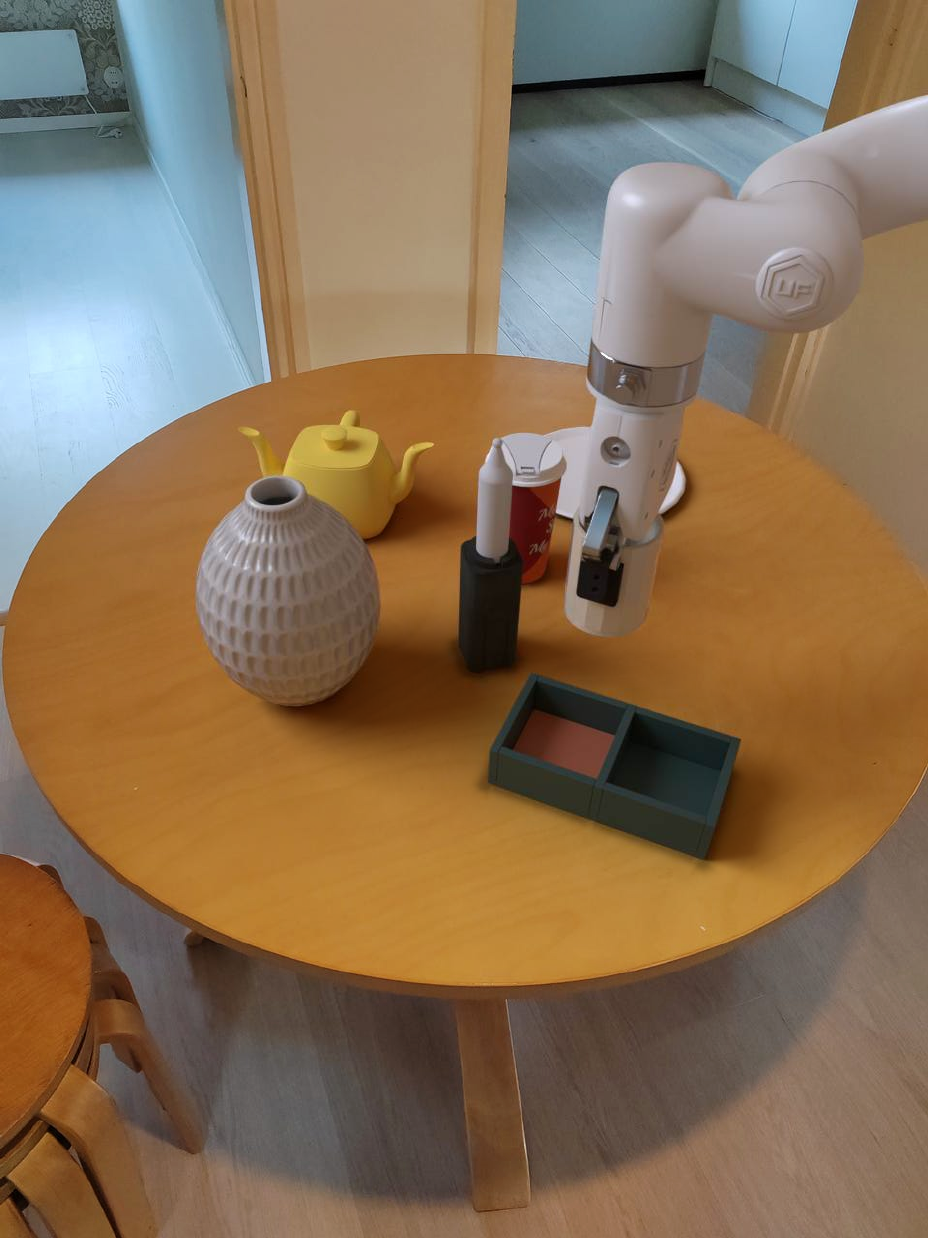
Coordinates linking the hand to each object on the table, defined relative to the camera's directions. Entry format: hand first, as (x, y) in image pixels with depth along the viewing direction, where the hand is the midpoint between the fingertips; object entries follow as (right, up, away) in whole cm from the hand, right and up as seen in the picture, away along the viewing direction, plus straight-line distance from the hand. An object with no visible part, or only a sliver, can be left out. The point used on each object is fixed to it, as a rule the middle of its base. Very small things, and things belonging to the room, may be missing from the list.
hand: (612, 569), depth 78 cm
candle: (-9, -7, +21) cm, 24 cm away
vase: (-28, -10, +18) cm, 34 cm away
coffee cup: (-6, +2, +31) cm, 32 cm away
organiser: (+1, -18, +10) cm, 20 cm away
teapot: (-26, +9, +39) cm, 48 cm away
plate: (+5, +13, +44) cm, 46 cm away
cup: (0, -3, +3) cm, 4 cm away
